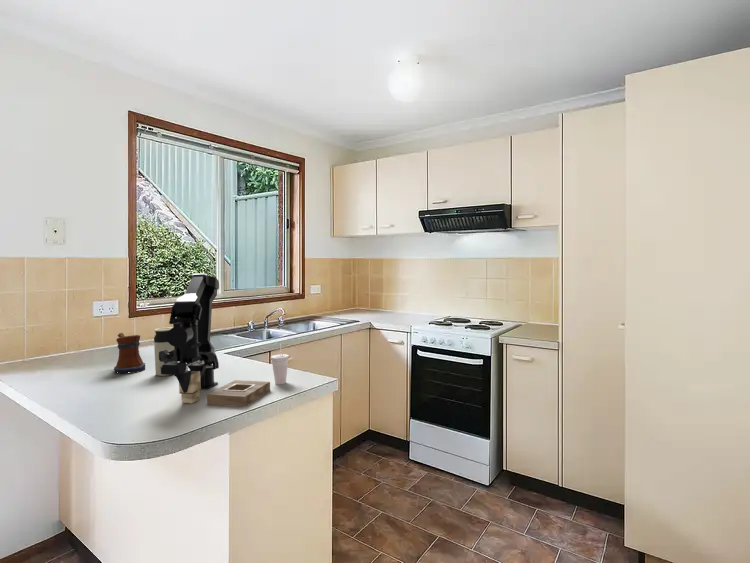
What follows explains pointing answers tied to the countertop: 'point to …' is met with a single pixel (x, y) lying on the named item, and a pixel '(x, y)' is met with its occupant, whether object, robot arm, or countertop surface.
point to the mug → (128, 354)
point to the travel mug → (161, 347)
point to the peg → (192, 388)
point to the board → (238, 393)
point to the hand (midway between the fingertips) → (190, 390)
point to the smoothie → (280, 367)
